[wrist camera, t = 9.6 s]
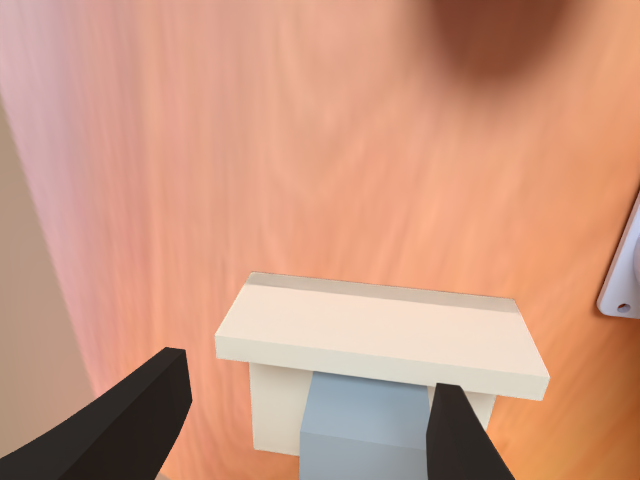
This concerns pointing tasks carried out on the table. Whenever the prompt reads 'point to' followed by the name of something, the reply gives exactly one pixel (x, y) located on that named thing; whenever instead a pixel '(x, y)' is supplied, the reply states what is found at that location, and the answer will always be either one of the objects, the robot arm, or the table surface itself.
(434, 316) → the board
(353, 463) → the block
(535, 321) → the table surface
